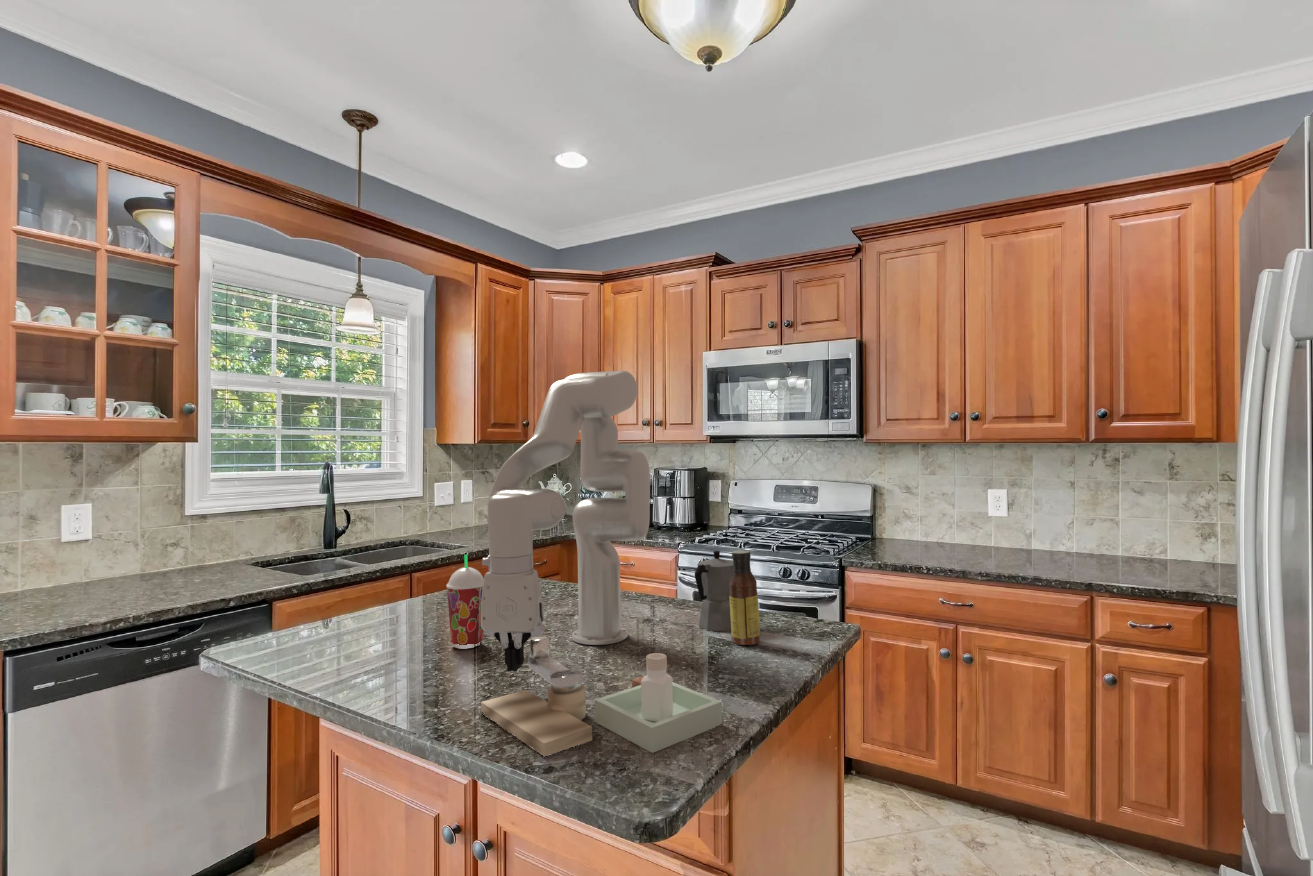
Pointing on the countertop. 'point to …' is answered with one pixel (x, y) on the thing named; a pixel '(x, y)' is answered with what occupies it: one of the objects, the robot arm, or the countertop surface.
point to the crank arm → (553, 668)
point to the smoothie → (465, 605)
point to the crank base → (544, 718)
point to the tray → (685, 722)
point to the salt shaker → (656, 689)
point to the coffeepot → (714, 592)
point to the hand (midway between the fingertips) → (514, 668)
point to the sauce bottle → (743, 601)
